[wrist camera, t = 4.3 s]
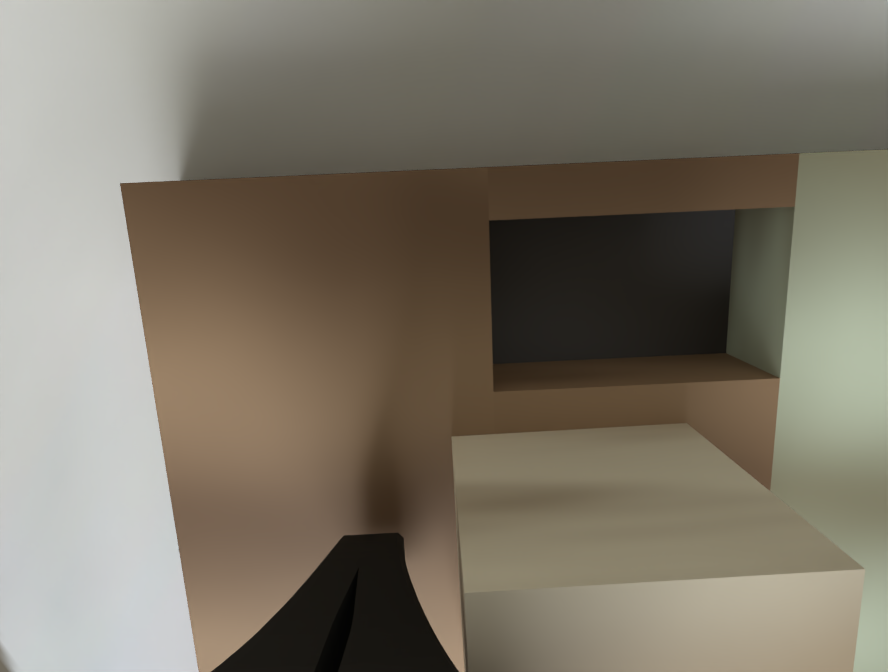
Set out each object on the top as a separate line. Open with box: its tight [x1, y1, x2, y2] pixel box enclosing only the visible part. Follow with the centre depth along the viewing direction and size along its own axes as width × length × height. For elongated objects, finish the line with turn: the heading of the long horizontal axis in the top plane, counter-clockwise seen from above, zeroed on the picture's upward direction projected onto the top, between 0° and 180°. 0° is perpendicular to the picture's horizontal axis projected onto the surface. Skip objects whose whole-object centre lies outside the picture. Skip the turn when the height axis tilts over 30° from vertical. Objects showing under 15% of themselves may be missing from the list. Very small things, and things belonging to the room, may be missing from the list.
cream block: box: [451, 423, 865, 672], centre depth 10 cm, size 5×5×5 cm
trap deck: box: [120, 149, 888, 672], centre depth 14 cm, size 16×20×2 cm
